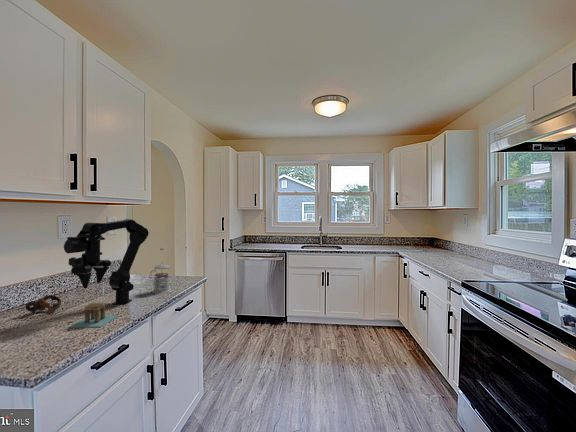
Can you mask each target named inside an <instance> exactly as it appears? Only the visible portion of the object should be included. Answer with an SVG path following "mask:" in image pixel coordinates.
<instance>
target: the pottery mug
mask: <svg viewBox="0 0 576 432" xmlns="http://www.w3.org/2000/svg"><path fill="white" fill-rule="evenodd" d="M49 299H51V301H56V302H57V303H53V304H52V305H51V303H49V302H47V300H49ZM61 302H62V299H61V298H60V297H58V296H56V295H51V294H49V295H43V296H42V297H41V298H39V299H38V300H36V301H33V300H31V301H28V302H27V303H26V304H25V305H24V306H25V307H24V308H25V309H26V310H27V312H31V313H32V314H35V313H36V312H37V311H42V310H46V309H47V311H46V315H51V314H52V313H53V312H55V311H56V310H58V309H59V308H61ZM31 306H32V307H31Z"/></svg>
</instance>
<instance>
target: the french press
mask: <svg viewBox="0 0 576 432" xmlns="http://www.w3.org/2000/svg"><path fill="white" fill-rule="evenodd" d="M163 250H164V247H160V251H163ZM169 268H170V266H169V265H167V264H163V263H161V264H157V265H156V266H154V267H153V269H152V270H151V271H150V272H149V277H148V278H149V280H150V281H152V280H153V281H152V283H153V290H152V292H153V293H152V294H165V293H169V292H171V289H170V276H169V273H168V272H164V273H163V272H159V273H158V272H157V270H166V269H167V270H168V269H169ZM153 272H154V273H155V274H154V278H153V277H152V276H151V275H152V274H153Z"/></svg>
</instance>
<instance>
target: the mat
mask: <svg viewBox="0 0 576 432" xmlns="http://www.w3.org/2000/svg"><path fill="white" fill-rule="evenodd" d="M118 317H119V316H118V314H117V315H115V314H113V315H111V314H109V315H108V314H107V315H106V314H105V319H100V322H98V323H95V319H91V314H90V322H89V323H85V317H84V318H81V319H80V320H78V321H76V322H75V323H72V324H71V325H69V328H102V327H104V326H106V325H107V324H108V323H110V322H111V321H113V320H115V319H116V318H118Z"/></svg>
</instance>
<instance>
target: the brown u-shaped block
mask: <svg viewBox="0 0 576 432" xmlns="http://www.w3.org/2000/svg"><path fill="white" fill-rule="evenodd" d="M90 315H91V319H95V323H98V322H100V319H105V315H106V302H91V303H89V304H88V305H85V306H84V318H85V323H89V322H90Z"/></svg>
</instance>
